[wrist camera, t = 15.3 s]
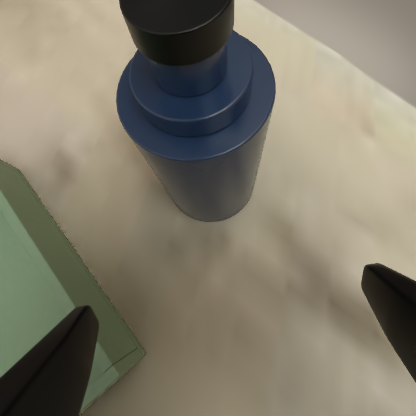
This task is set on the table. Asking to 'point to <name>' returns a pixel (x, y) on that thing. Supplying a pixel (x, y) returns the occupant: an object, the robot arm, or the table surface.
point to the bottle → (196, 102)
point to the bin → (51, 288)
